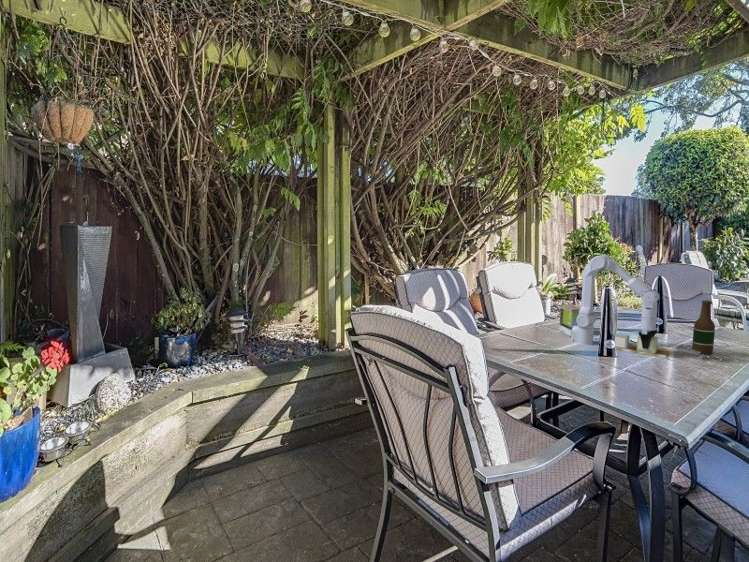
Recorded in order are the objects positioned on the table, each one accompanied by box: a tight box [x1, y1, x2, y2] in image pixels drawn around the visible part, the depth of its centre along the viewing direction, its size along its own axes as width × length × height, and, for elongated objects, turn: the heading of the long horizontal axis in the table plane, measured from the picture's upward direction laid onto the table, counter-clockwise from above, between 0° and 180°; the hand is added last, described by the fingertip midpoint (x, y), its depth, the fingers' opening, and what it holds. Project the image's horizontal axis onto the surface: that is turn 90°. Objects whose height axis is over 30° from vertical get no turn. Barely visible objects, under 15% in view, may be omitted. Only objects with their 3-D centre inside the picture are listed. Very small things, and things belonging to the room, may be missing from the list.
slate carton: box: [615, 332, 631, 349], centre depth 207 cm, size 7×5×6 cm, turn 48°
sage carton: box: [636, 335, 659, 353], centre depth 199 cm, size 7×5×6 cm, turn 48°
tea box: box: [559, 304, 581, 337], centre depth 240 cm, size 15×10×15 cm
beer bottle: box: [691, 299, 716, 356], centre depth 203 cm, size 8×8×24 cm
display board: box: [615, 342, 673, 359], centre depth 206 cm, size 24×18×3 cm
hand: (646, 347), depth 200 cm, fingers closed on sage carton, 4 cm apart
